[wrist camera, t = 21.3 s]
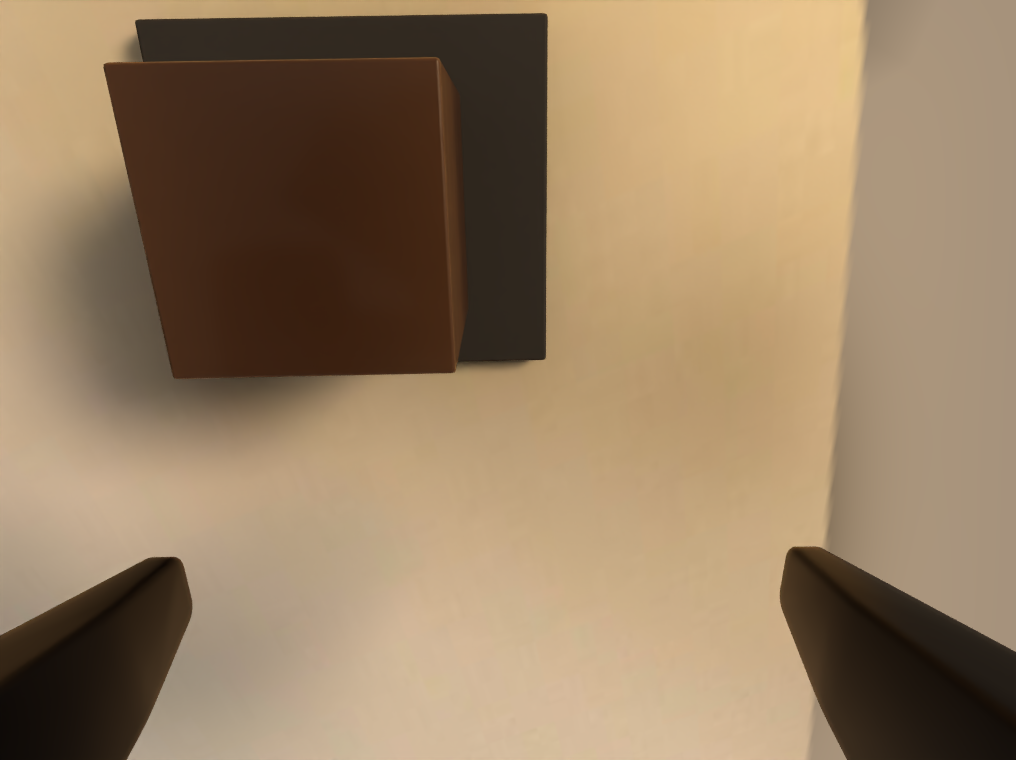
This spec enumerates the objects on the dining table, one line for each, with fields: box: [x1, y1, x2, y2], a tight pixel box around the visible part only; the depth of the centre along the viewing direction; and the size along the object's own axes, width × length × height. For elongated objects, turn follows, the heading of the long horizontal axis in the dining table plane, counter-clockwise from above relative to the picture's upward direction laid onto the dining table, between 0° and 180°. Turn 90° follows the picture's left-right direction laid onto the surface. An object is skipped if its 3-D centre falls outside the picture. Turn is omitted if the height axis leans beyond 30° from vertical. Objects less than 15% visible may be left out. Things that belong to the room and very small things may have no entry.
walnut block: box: [104, 57, 468, 379], centre depth 12 cm, size 5×5×5 cm
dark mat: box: [135, 13, 548, 362], centre depth 15 cm, size 9×8×1 cm
